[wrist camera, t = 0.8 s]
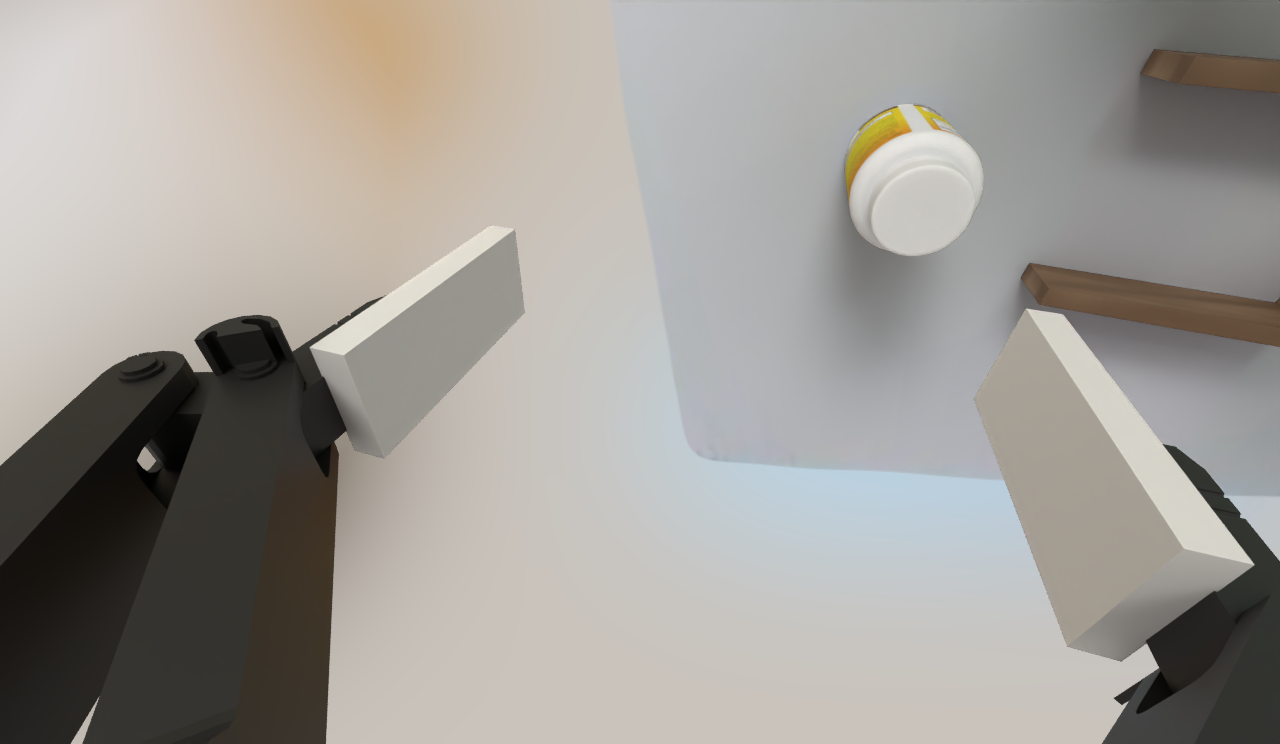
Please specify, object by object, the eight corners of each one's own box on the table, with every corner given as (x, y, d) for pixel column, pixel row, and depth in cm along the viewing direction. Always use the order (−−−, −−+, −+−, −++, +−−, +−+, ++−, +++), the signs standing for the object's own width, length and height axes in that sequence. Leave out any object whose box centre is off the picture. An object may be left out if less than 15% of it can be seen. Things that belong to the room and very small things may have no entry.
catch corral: (1154, 49, 24) (1196, 56, 21) (1523, 80, 21) (1623, 93, 18) (1020, 277, 31) (1039, 304, 28) (1281, 321, 29) (1329, 355, 26)
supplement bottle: (835, 200, 32) (838, 268, 24) (855, 101, 28) (866, 141, 20) (933, 205, 30) (970, 279, 22) (965, 101, 27) (1022, 146, 19)
